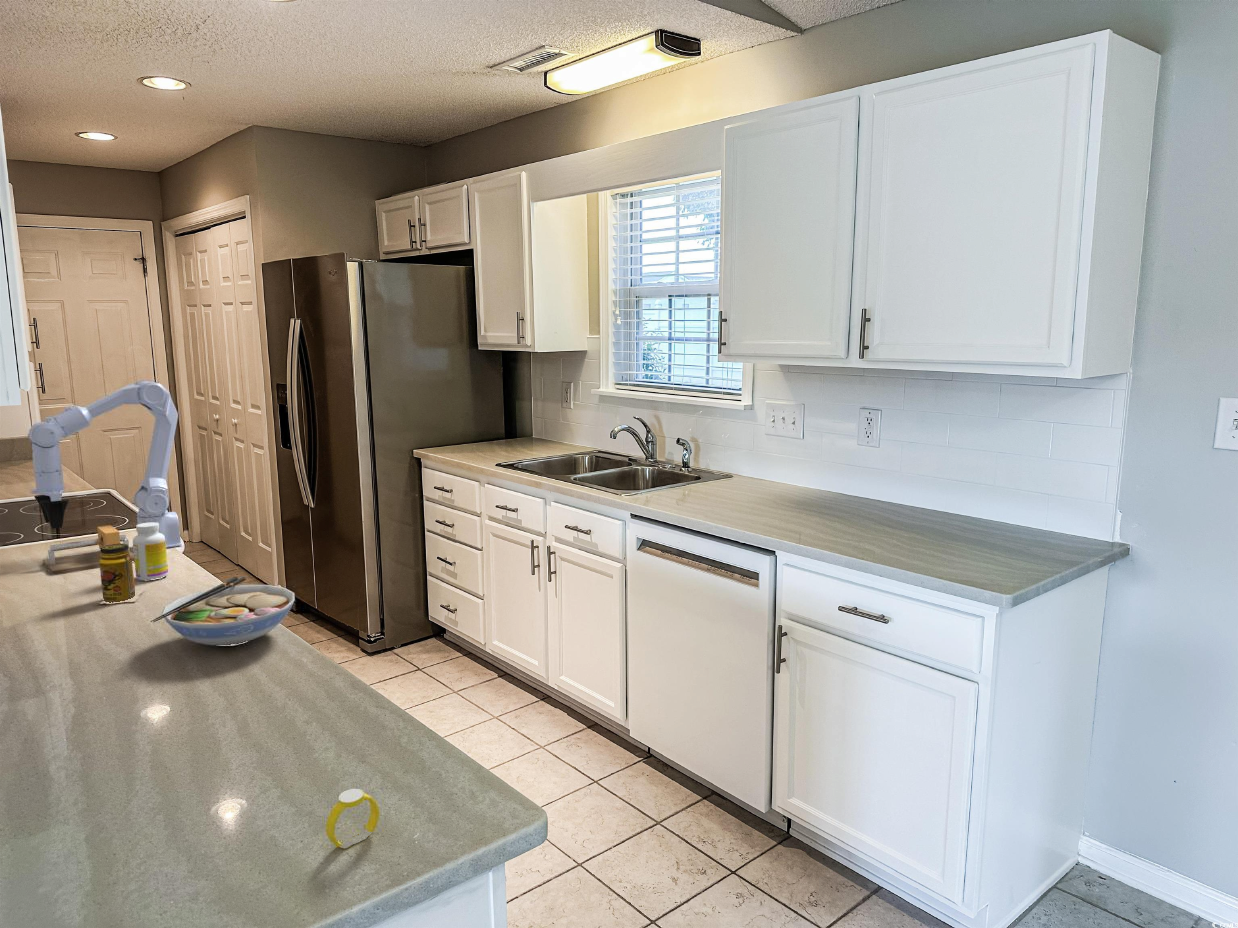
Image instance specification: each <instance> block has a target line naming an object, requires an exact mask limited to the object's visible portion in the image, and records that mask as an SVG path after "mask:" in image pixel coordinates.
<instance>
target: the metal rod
mask: <svg viewBox="0 0 1238 928" xmlns="http://www.w3.org/2000/svg"><path fill="white" fill-rule="evenodd" d="M121 542H122V543H123V544H127V545H128V546H129V547H130V540H129V539H128V538H127V536H126V534H120V543H121ZM101 544H104V543H103V538H98V537H97V538H93V539H91V538H90V539H85V540H84V539H83V540H79V541H72V542H71V541H69V542H64V543H58V544H57V543H56V544H50V546H49V549H48V550H47V554H48V559H49V564H50V566H51V565H55V558H56V556H55V552H59V551H60V552H61V551H66V550H72V549H81V548H87V547H92V546H93V547H94V546H99V545H101ZM128 550H129V553H130V552H131V551H130V548H129V549H128Z"/></svg>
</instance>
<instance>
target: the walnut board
mask: <svg viewBox="0 0 1238 928" xmlns="http://www.w3.org/2000/svg"><path fill="white" fill-rule="evenodd" d="M100 555H101V551H100V550H99V551H92V552H85V553H79V554H71V555H66V556H59V557H58V556H57V557H55V565H51V566H50V564H49V558H45V559H42V564H43V565H44V566H45V568H46V569H47V570H48V571H49V572H50V574H51V575H52V576H55V575H56V576H57V575H61V574H68V573H75V572H83V571H86V570H87V571H88V570H94V569H100V564H99V561H100V560H101V556H100ZM129 555H130V556H131V557H132V561H134V552H132V551H130V553H129Z"/></svg>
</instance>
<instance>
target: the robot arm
mask: <svg viewBox="0 0 1238 928" xmlns="http://www.w3.org/2000/svg"><path fill="white" fill-rule="evenodd" d="M123 405H141V406H143V407H144V408H146V409H147V410H148V411H149V413H151V415H152V416H153V417H154V426H153V430H152V436H151V441H150V447H149V451H148V457H147V461H146V463H147V464H146V466H145V467H146V468H145V473H144V477H143V478H142V480H141V482H140V484H139V485H140V487H139V489H137V491H136V492H135V494H134V497H133V502H134V505H135V506H136V507H137V508H138V511H137V513H136V518H137V519H136V520H137V525H138V524H142V523H150V522H155V523H159V530H158V531H159V533H161V534H163V535H164V537H165V544H166V549H168V548H174V547H180V546H182V541H181V540H182V539H181V531H180V530H181V529H180V521H179V516H178V514H177V512H176V511H169V510H168V509H169V506H170V505H169V504H170V500H169V497H168V489H169V486H168V482H167V477H168V473H169V472H168V471H169V466H170V461H171V455H172V450H173V444H174V439H175V434H176V429H177V424H178V418H179V414H178V410H177V409H176V406H175V404H174V402H173V399H172V397H171V393H170V391H169V390H168V389H167V388H165V386H164V385H162V384H161V383H159V382H155V381H150V380H138V381H136V382H135V383H134V384H133V383H131V384H128V385H126V386H123V387H121V388H119V389H117V390H115V391H113V392H111V393H110V394H107V395H105V396H104V397H101V398H100V399H98V400H96V401H94V402H92V403H90V404H89V405H86V406H85V407H83V406H79V405H75V406H71V405H69V406H67V407H64V411H62V412H59V413H58V414H55V415H54V416H51V417H50V416H46V417H45V418H44V419H45V421H39V422H35V423H33V424H32V425H31V426H30V428H29V430H28V434H27V437H28V439H29V441H30V442H32V443H31V450H32V454H31V455H32V464H33V472H34V473H33V474H34V482H35V483H34V484H35V489H31V490H30V494H32V495H34V498H35V500H36V502H37V503H38V505H39V508H40V509H41V511H42V512H41V513H42V516H43V519H44V521H45V523H46V524H49V525H50V527H51V529H53V530H55V529H62V528H63V524H64V518H65V517H64V516H65V512H66V508H67V506H68V504H69V501H70V499H68V498H66V499H62V494H63V493H64V492H65V491H66V487H65V484H64V473H63V465H62V464H63V463H62V456H61V451H60V445H59V443H60V442H61V440H62V439H63V438H64V439H65V438H68V437H70V436H72V435H75V434H76V433H77V432H79V431H82V430H84V429H86V428H88V427H90V425H91V423H92V421H93V419H94V418H97V417H99V416H101V415H103V414H105V413H108V412H110V411H112V410H114V409H117V408H119V407H121V406H123Z"/></svg>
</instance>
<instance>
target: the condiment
mask: <svg viewBox="0 0 1238 928" xmlns="http://www.w3.org/2000/svg"><path fill="white" fill-rule="evenodd" d="M128 549H129V550H130V545H129V546H128V545H127V544H123V542H122V543H121V542H120V543H119V544H110V545H106V546H103V547H101V548H100V549H99V551H101V555H100V556H101V560H100V561H99V564H100V568H99V572H100V581H101V590H102V591H101V592H102V593H101V594H102V599H104V600H103V601H105V602H109V603H111V602H112V603H113V602H120V601H125V600H128V599H131V598H133V597H134V596H135V591H136V587H135V579H134V568H133V562H132V557H131V556H130V555H129V550H128Z"/></svg>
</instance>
